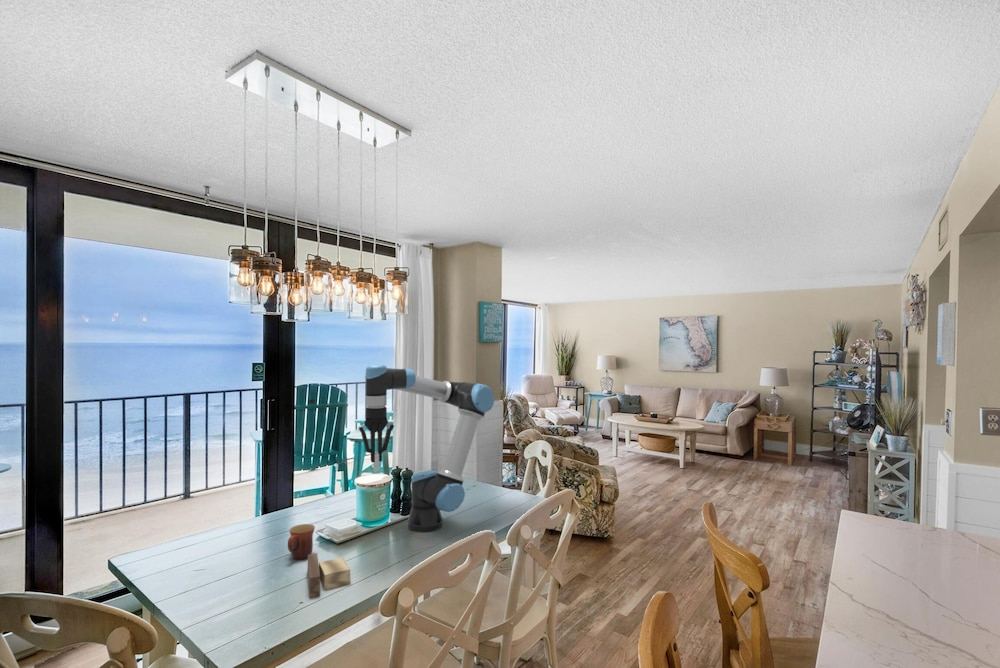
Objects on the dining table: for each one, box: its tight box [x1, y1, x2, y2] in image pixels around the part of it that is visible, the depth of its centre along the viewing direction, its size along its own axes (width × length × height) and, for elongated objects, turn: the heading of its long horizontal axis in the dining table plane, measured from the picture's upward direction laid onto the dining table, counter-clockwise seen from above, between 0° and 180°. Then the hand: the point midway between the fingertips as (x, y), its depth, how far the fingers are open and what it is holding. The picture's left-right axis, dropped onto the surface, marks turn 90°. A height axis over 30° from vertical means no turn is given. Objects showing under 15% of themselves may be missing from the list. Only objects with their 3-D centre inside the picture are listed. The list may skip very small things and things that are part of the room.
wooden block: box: [307, 552, 321, 599], centre depth 157 cm, size 3×18×6 cm, turn 24°
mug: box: [287, 523, 316, 561], centre depth 175 cm, size 12×9×10 cm
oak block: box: [318, 556, 351, 591], centre depth 159 cm, size 8×10×5 cm
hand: (376, 470), depth 178 cm, fingers closed
